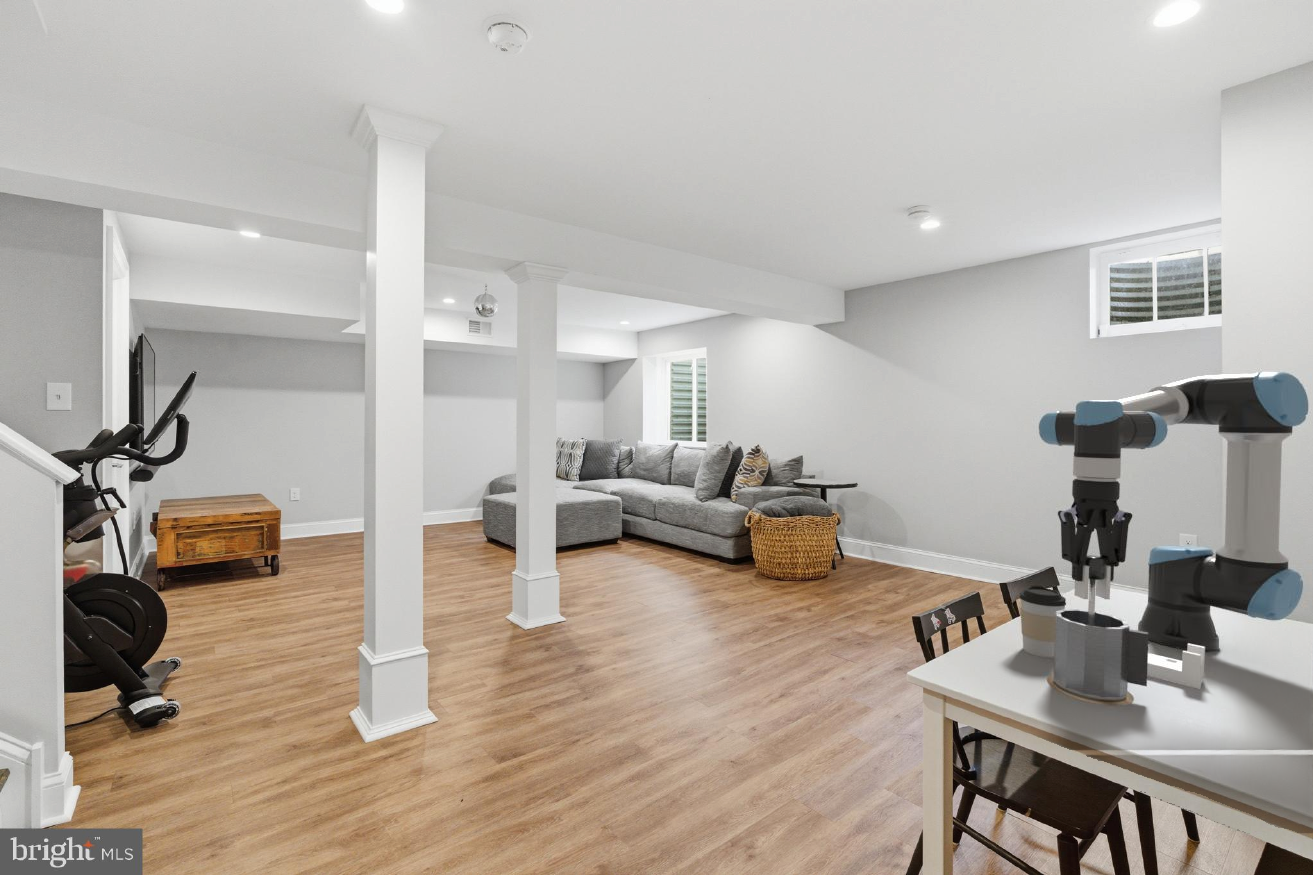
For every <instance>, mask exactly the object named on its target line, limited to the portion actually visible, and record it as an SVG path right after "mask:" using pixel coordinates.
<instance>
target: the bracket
mask: <svg viewBox="0 0 1313 875" xmlns="http://www.w3.org/2000/svg"><path fill="white" fill-rule="evenodd" d="M1205 655H1206V651H1205V647H1203V646H1198V645H1194V644H1189V643H1188V646H1187V649H1186V650H1182V659H1181V660H1180V659H1176V658H1172V657H1171V658H1170V657H1167V656H1163V655H1160V654H1159V655H1158V654H1154V653H1149V652H1148V665H1147V677H1152V678H1155V679H1159V680H1163V681H1167V682H1170V683H1173V684H1178V685H1181V686H1186V687H1190V688H1194V689H1199V690H1200V689H1201V688H1202V683H1203V681H1204V679H1205V657H1206V656H1205Z"/></svg>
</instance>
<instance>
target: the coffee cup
mask: <svg viewBox="0 0 1313 875" xmlns="http://www.w3.org/2000/svg"><path fill="white" fill-rule="evenodd" d="M1019 599H1020V624H1021V625H1020V626H1021V628H1020V629H1021V635H1022V649H1023V651H1024V652H1026V653H1028V654H1030V655H1034V656H1037V657H1041V658H1042V657H1043V658H1054V642H1055V612H1056V611H1059V610H1063V609H1066V605H1067V602H1066V600H1067V599H1066V598H1065V596H1063V595H1062V594H1061V592H1060V591H1057V590H1054V589H1051V588H1046V587H1044V586H1042V585H1031V586H1029V587H1026V588H1025V589H1024V591H1021V592H1020V593H1019Z"/></svg>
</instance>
